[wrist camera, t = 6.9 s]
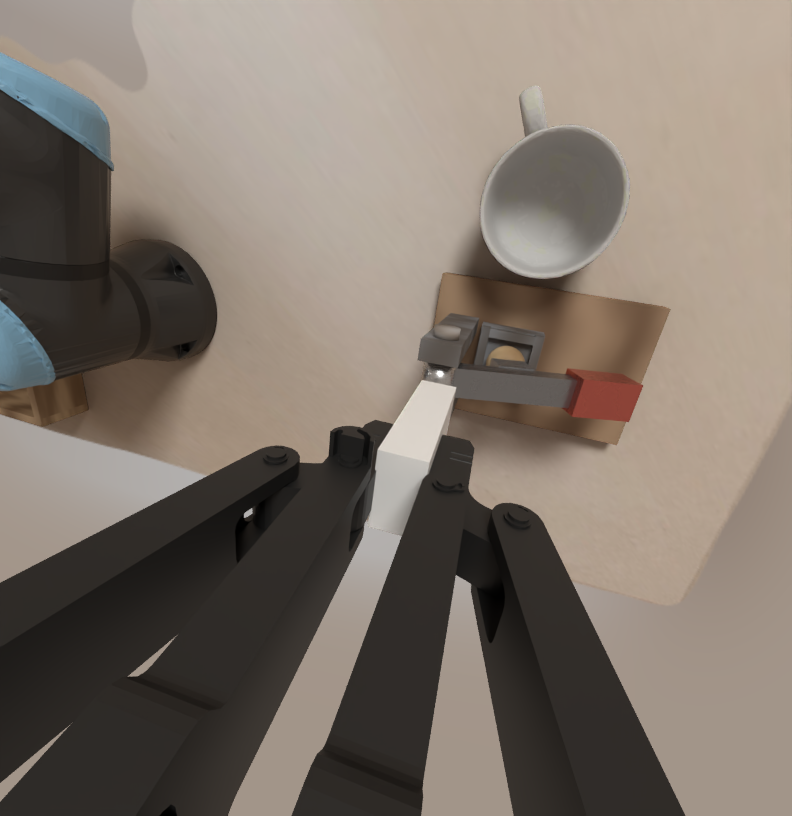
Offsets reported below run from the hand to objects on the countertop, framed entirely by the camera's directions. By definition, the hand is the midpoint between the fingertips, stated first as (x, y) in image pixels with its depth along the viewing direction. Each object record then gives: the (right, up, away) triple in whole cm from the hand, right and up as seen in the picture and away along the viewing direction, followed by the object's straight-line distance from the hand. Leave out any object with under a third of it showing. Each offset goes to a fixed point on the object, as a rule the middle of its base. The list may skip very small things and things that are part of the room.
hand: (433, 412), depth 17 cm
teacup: (+12, +20, +20) cm, 31 cm away
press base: (+13, +6, +25) cm, 29 cm away
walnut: (+9, +4, +21) cm, 23 cm away
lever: (+9, +3, +18) cm, 20 cm away
